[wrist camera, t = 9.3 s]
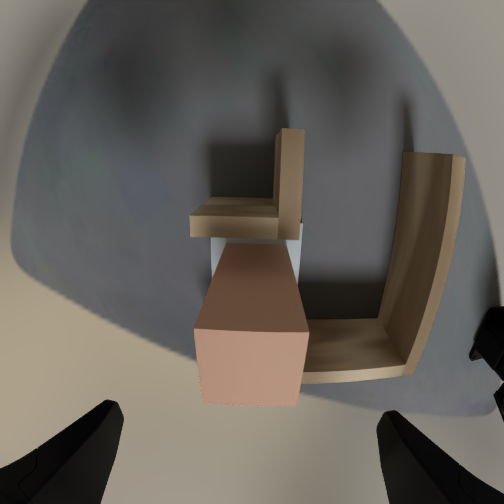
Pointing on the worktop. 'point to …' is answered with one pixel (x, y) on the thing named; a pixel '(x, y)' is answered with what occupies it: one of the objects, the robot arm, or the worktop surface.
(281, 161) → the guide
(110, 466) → the robot arm
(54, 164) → the worktop surface
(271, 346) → the peg
